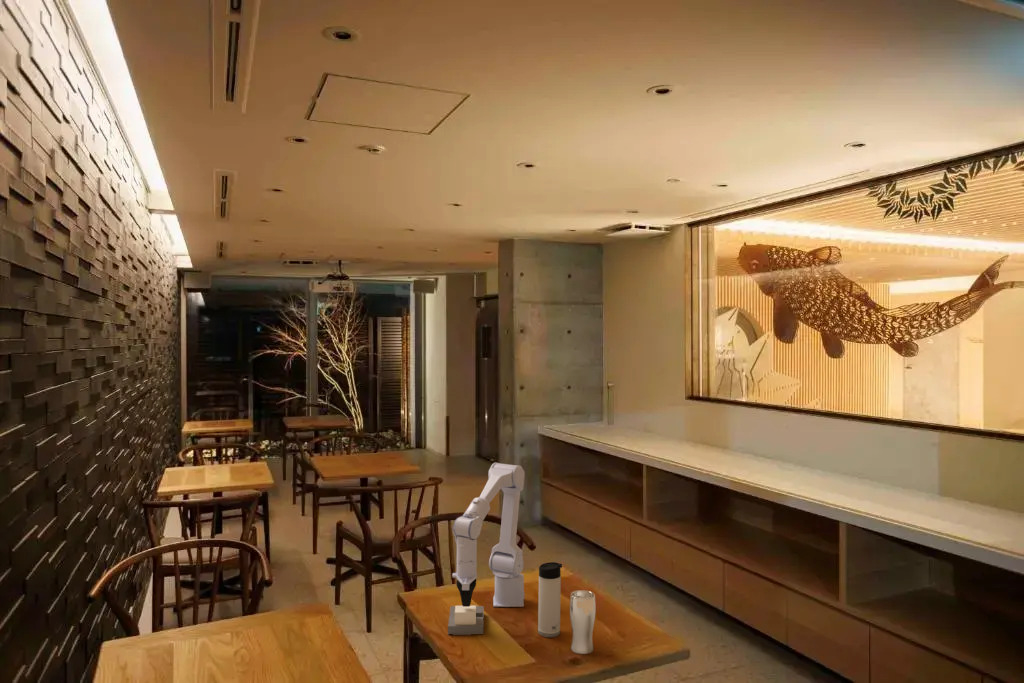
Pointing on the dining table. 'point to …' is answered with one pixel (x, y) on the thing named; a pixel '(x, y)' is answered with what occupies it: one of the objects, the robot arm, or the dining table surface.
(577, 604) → the beer glass
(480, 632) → the socket plate
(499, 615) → the dining table surface
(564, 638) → the dining table surface
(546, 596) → the travel mug
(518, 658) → the dining table surface
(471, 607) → the plug
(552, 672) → the dining table surface
